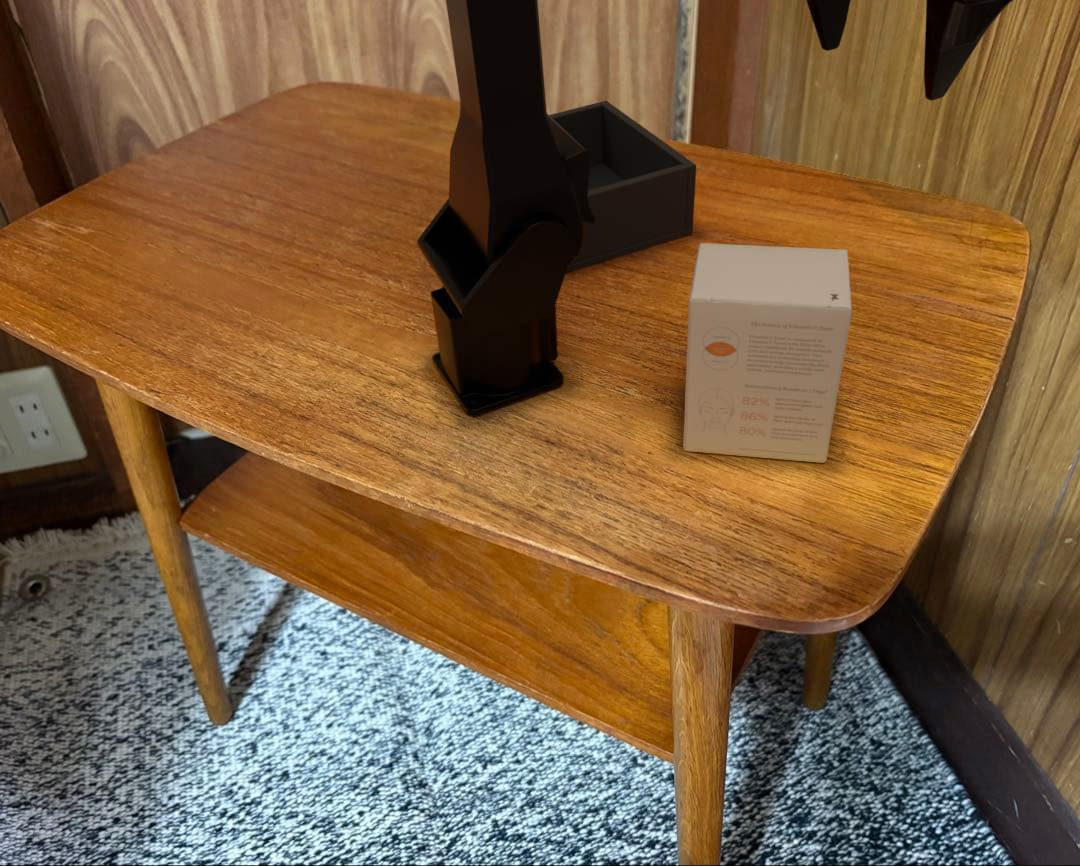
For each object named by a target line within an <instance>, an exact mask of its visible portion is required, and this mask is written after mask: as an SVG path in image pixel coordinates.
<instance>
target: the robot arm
mask: <svg viewBox="0 0 1080 866" xmlns="http://www.w3.org/2000/svg"><path fill="white" fill-rule="evenodd" d="M805 1H806V4H807V7H808V10H809V13H810V16H811V19H812V22H813V25H814V29H815V30H816V31H815V32H816V35H817V37H818V40H819V43H820V46H821V49H822V50H824V51H826V52H828V51H832V50H836V49H838V48H839V47H840V44H841V41H842V39H843V34H844V31H845V28H846V25H847V20H848V15H849V10H850V6H851V1H852V0H805ZM1013 1H1014V0H926V1H925V2H926V3H925V10H926V11H925V37H924V63H923V83H924V96H925V99H926V100H927V101H928V100H929V101H935V100H939V99H942V98H943V97H945V95H946V94H947V93H948V91H949V90H950V88H951V87H952V85H953V83H954V82H955V80H956V79H957V78H958V76H959V74H960V72H961V71H962V69H963V68H964V66H965V64H966V63H967V62H968V60H969V58H970V57H971V55H972V54H973V52H974V50H975V49H976V47H977V46H978V45H979V43H980V41H981V40H982V38H983V37H984V35H985V33H986V32H987V31H988V29H989V28H990V27H991V25H993V23H994V22H995V21H996V20H997V18H998V17H999V15H1000V14H1001V12H1003V10H1004V9H1005V8H1006V7H1007V6H1008V5H1009V4H1010V3H1012V2H1013ZM445 3H446V10H447V11H446V12H447V18H448V25H449V31H450V32H449V33H450V40H451V47H452V53H453V60H454V61H453V62H454V65H455V66H454V68H455V74H456V81H457V88H458V95H459V103H460V104H459V105H460V106H459V117H458V121H457V124H456V127H455V131H454V135H453V138H452V141H451V147H450V151H449V181H448V182H449V183H448V190H449V191H448V199H447V200H445V202H444V203H443V205H442V207H440V209H439V210H438V212H437V213H436V215H435V216H434V217H433V219H431V221H430V222H429V224H428V225H427V226H426V228H425V229H424V231H423V232H422V233H421V234H420V235H419V237H418V239H417V241H416V244H417V247H418V248H419V250H420V252H421V253H422V255H423V256H424V258H425V260H426V261H427V263H428V265H429V266H430V268H431V270H432V271H433V272H434V274H435V275H436V277H437V279H439V282H440V283H441V284H442V287H441V288H438V289H434V290H432V291H431V292H430V299H431V305H432V311H433V318H434V325H435V332H436V339H437V345H438V352H436V353H434V354H432V356H431V357H432V358H431V359H432V360H431V361H432V365H433V366H434V367H435V369H436V371H437V372H438V374H439V375H440V376H441V378H442V380H443V381H444V382H445V384H446V385H447V387H448V388H449V390H450V391H451V392H452V394H453V396H454V397H455V399H456V400H457V401H458V403H459V404H460V406H461V408H462V409H463V410H464V412H465V413H466V414H467V415H469V416H479V415H481V414H484V413H487V412H490V411H493V410H495V409H498V408H501V407H505V406H507V405H510V404H513V403H516V402H519V401H521V400H524V399H525V400H526V399H527V398H530V397H534V396H536V395H539V394H542V393H545V392H548V391H550V390H553V389H556V388H560V387H561V386H563V385H564V383H565V378H564V374H563V373H562V371H560V369H559V368H558V367H557V366H556V365H555V363H554V361H557V360H558V357H559V345H558V343H559V342H558V325H557V308H556V307H557V306H556V304H557V301H558V298H559V294H560V291H561V289H562V285H563V281H564V279H565V276H566V274H567V273H566V270H567V267H568V265H569V264H570V262H571V261H572V260H573V258H576V257H578V256H579V254H580V252H581V249H582V246H583V242H584V232H585V228H584V222H587V223H594V222H595V217H594V215H593V213H592V211H591V209H590V206H589V201H588V182H589V174H590V163H589V154H588V152H587V151H586V150H585V149H584V148H583V147H582V146H581V145H580V144H579V143H578V142H577V141H576V140H575V139H574V138H573V137H571V136H570V135H569V134H568V133H567V132H566V131H565V130H564V129H563V128H562V127H561V126H560V125H559V124H558V123H557V122H556V121H555V120H554V119H552V118H551V117H550V116H549V115H550V114H549V113H548V112H547V101H546V88H545V77H544V63H543V53H542V52H543V51H542V39H541V28H540V15H539V14H540V13H539V3H538V0H445ZM583 221H584V222H583Z"/></svg>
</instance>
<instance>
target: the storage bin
mask: <svg viewBox="0 0 1080 866" xmlns="http://www.w3.org/2000/svg"><path fill="white" fill-rule="evenodd" d="M548 115H549V116H550V117H551V118H552V119H554V120H555V121H556V122H557V123H558V124H559V125H560V126H561V127H562V128H563V129H564V130H565V131H566V132H567V133H568V134H569V135H570V136H571V137H573V138H574V139H575V140H576V141H577V142H578V143H579V144H580V145H581V146H582V147H583V148H584V149H585V150H586V151H587V152H588V154H589V163H590V174H589V182H588V201H589V206H590V209H591V211H592V213H593V215H594V217H595V222H594V223H587V222H584V221H583V222H584V228H585V232H584V242H583V246H582V249H581V252H580V254H579V256H578V257H576V258H573V260H572V261H571V262H570V264H569V265H568V267H567V270H566V273H565V274H569V273H572V272H575V271H578V270H581V269H585V268H587V267H591V266H594V265H597V264H601V263H603V262H607V261H611V260H613V259H617V258H620V257H623V256H626V255H629V254H633V253H637V252H639V251H643V250H646V249H649V248H652V247H655V246H658V245H662V244H665V243H669V242H672V241H675V240H678V239H682V238H686V237H688V236H691V235H693V233H694V216H695V215H694V213H695V197H696V181H697V180H696V178H697V164H696V163H694V162H693V161H691V160H690V159H688V158H687V157H686V156H685V155H683V154H682V153H680V152H679V151H678V150H676V149H674V148H673V147H672V146H671V145H669V144H668V143H667V142H665V141H664V140H662V139H660V138H659V137H658V136H656V135H655V134H654V133H652V132H651V131H650V130H648V129H647V128H646V127H644V126H643V125H641V124H640V123H639V122H637V121H636V120H635V119H633V118H631V117H630V116H629V115H627V114H626V113H624V112H623V111H622V110H620V109H619V108H618V107H616V106H614V105H613V104H612V103H611V102H609V101H608V100H603V101H599V102H595V103H591V104H588V105H584V106H579V107H575V108H571V109H568V110H564V111H563V110H562V111H560V112H555V113H552V114H548Z"/></svg>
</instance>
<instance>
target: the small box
mask: <svg viewBox="0 0 1080 866" xmlns="http://www.w3.org/2000/svg"><path fill="white" fill-rule="evenodd" d="M697 246H698V247H697V252H696V257H695V261H694V269H693V275H692V280H691V287H690V291H689V299H688V318H687V320H688V321H687V323H688V324H687V344H686V345H687V346H686V347H687V349H686V368H685V369H686V371H685V389H684V390H685V391H684V392H685V393H684V394H685V395H684V421H683V422H684V423H683V447H682V448H683V451H685V452H693V453H704V454H705V453H706V454H716V455H726V456H727V455H728V456H737V457H738V456H739V457H751V458H763V459H773V460H774V459H775V460H786V461H798V462H810V463H811V462H812V463H821V464H822V463H825V462H826V461H827V459H828V454H829V448H830V442H831V436H832V430H833V424H834V419H835V411H836V407H837V406H836V405H837V400H838V394H839V388H840V383H841V378H842V372H843V366H844V362H845V356H846V351H847V350H846V349H847V345H848V338H849V332H850V328H851V327H850V326H851V320H852V314H853V306H852V293H851V292H852V290H851V278H850V277H851V276H850V262H849V251H848V250H847V249H846V248H844V249H843V248H842V249H840V248H839V249H837V248H821V247H820V248H818V247H798V246H797V247H796V246H771V245H754V244H732V243H731V244H729V243H709V242H701V243H699V244H698V245H697Z"/></svg>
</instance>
